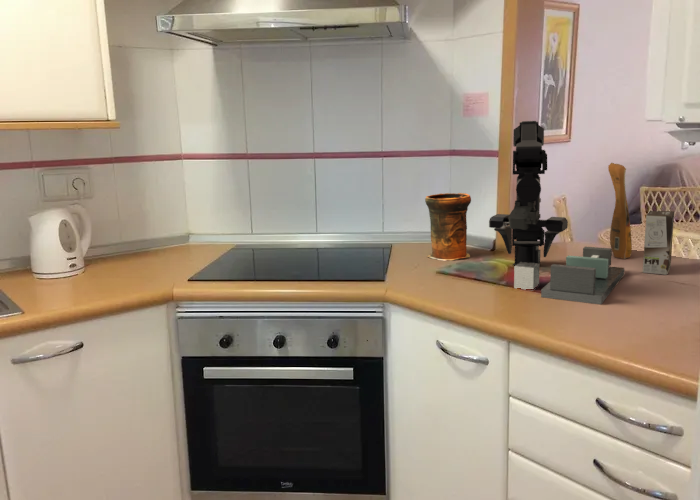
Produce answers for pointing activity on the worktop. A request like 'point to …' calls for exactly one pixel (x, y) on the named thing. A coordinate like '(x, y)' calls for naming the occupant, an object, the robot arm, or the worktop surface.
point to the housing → (526, 275)
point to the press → (580, 283)
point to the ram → (593, 260)
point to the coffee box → (658, 242)
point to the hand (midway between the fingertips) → (527, 255)
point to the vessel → (448, 225)
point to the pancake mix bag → (620, 215)
